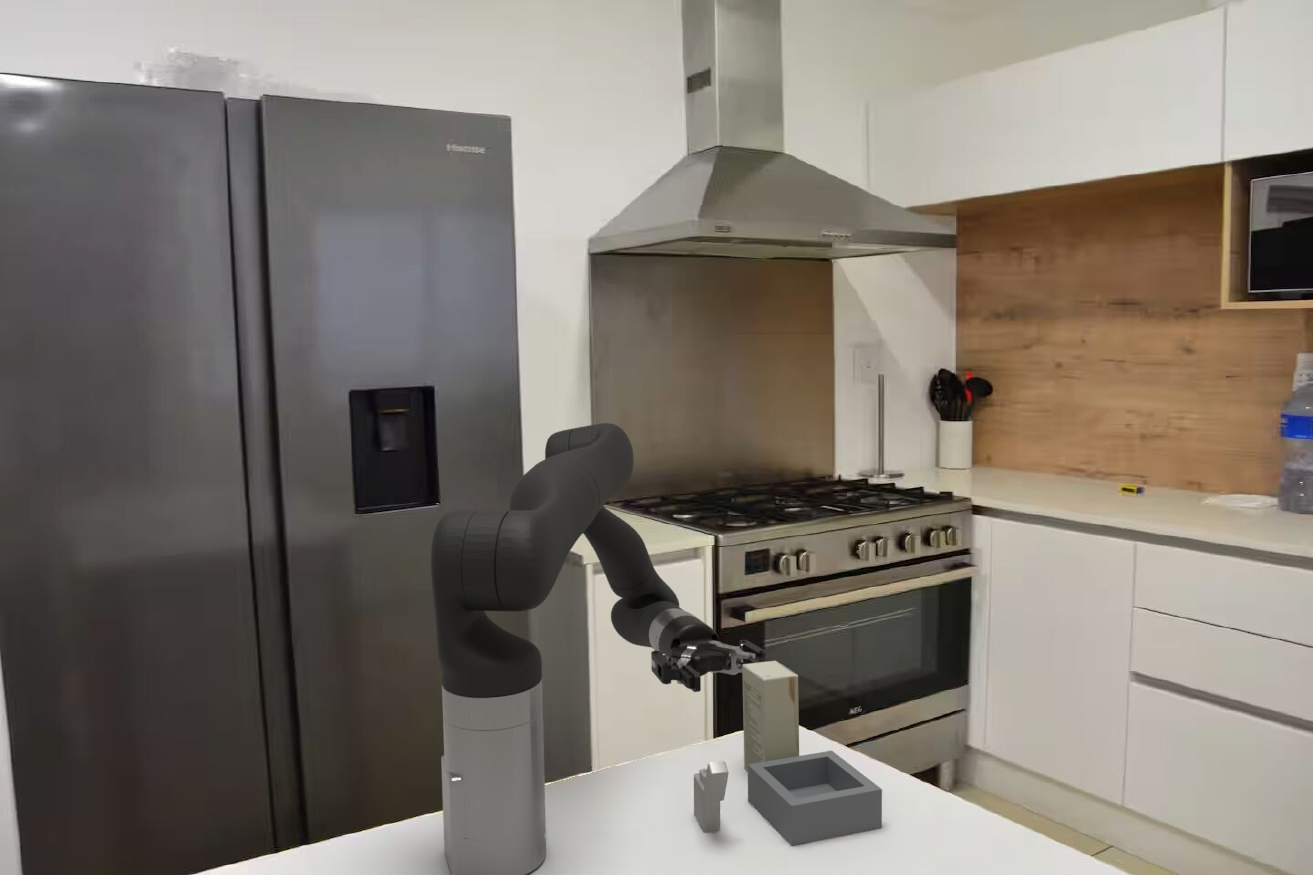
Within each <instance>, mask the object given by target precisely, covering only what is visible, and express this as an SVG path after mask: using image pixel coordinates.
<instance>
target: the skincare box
mask: <svg viewBox="0 0 1313 875" xmlns="http://www.w3.org/2000/svg"><path fill="white" fill-rule="evenodd" d="M741 665H742V671H743V673H742V709H743V711H742V714H743V721H742V723H743V767H744V769H745V770H746V771H747V772H748V764H754V763H760V762H766V761H772V760H778V759H784V758H790V757H796V756H800V724H799V723H800V721H799V719H800V715H799V711H800V710H799V709H800V708H799V675H798V674H797V673H795V672H794V671H793V670H791V669H790V668H788V667H787V666H785V665H784V664H782V663H780V662H778V661H777V660H770V661H766V662H760V663H750V664H746V663H743V664H741Z"/></svg>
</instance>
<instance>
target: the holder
mask: <svg viewBox="0 0 1313 875" xmlns="http://www.w3.org/2000/svg"><path fill="white" fill-rule="evenodd" d="M747 802H748V803H749V804H750V805H751V806H752V807H753V808H754V809H755V810H756V811H757V813H759V814H760V815H761V816H762V817H763V818H764V820H766V821H767V822H768V823H769V825H771V826H772V827H773V829H775V830H776V832H777V833H779V835H781V837H782V838H783V839H784V840H785V841H786V842H787V843H788V844H789V845H790V846H791V847H792V846H797V845H802V844H807V843H808V844H809V843H812V842H813V843H814V842H818V841H823V840H827V839H833V838H837V837H842V836H848V835H854V834H857V833H858V834H859V833H863V832H867V831H871V830H872V831H873V830H877V829H882V827H883V826H882V825H883V822H882V821H883V820H882V818H883V816H882V815H883V812H882V811H883V789H882V788H881V787H880V786H878V784H876V783H874V782H873V781H872V780H871V779H869V777H867V776H865V775H864V774H863V773H861V772H860V771H859V770H858V769H857V768H855V767H854V766H853V765H851V764H850V763H848V762H847V760H844V758H842V757H841V756H839V755H838V754H837V753H836V752H835V751H834V750H828V751H822V752H821V751H820V752H816V753H810V754H809V753H808V754H804V755H803V754H801V755H799V756H796V757H790V758H784V759H778V760H772V761H766V762H760V763H754V764H748V771H747Z"/></svg>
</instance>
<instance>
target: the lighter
mask: <svg viewBox="0 0 1313 875" xmlns="http://www.w3.org/2000/svg"><path fill="white" fill-rule="evenodd" d="M728 779H729V769H728V766H727V763H726V761H725V760H722V761H721V760H720V761H712V762H710V761H709V763H707V768H702V769H699V772H698V773H694V774H693V816H694V817H695V820H696V821H697V823H698V825H699V827H700V829H701V830H702V832H703V834H706V833H707V834H708V833H717V832H720V831H721V802H722V801H725V797H726V790H727V785H728Z"/></svg>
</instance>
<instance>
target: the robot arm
mask: <svg viewBox="0 0 1313 875" xmlns="http://www.w3.org/2000/svg"><path fill="white" fill-rule="evenodd" d="M546 440H547V441H546V443H545V449H544V450H545V451H544V459H543V460H541V461H539V462H538V463H536V464H535V465H533V466H532V467H531V468H530V469H529V470H528V471H527V472H525V473H524V474H523V475H522V476H521V478H520V479H519V480H518V481H517V483H516V484H515V485H514V487H513V490H512V491H511V495H510V498H509V509H454V510H450V511H448V512H446V513H445V514H444V515H442V516H441V518H440V520H439V521H438V522H437V524H436V526H435V529H434V532H433V536H432V541H431V548H430V549H431V550H430V575H431V588H432V590H431V591H432V599H433V608H434V618H435V630H436V631H435V633H436V649H437V651H436V652H437V658H438V662H439V666H440V671H441V672H440V673H441V674H440V675H441V696H442V697H441V698H442V699H441V700H442V721H443V722H442V726H443V727H442V728H443V731H442V732H443V753H444V754H443V755H441V760H440V761H441V786H442V787H441V788H442V789H441V791H442V819H443V845H444V846H443V847H444V848H443V850H444V854H445V857H446V861H447V865H448V869H449V874H450V875H527V874H529V873H532V872H533V871H534V870H537V868H538V867H540V865H542V864H543V862H544V860H545V859H546V856H547V827H546V826H547V824H546V823H547V821H546V820H547V819H546V817H547V816H546V788H545V787H546V786H545V785H546V784H545V780H546V779H545V778H546V777H545V752H544V751H545V750H544V749H545V748H544V747H545V745H544V743H545V742H544V712H543V711H544V709H543V708H544V707H543V661H542V655H541V652H540V650H539V648H538V647H537V646H536V645H535V644H534V643H533V642H531V641H530V640H527V639H525V638H523V637H521V636H519V635H516V634H513V633H511V632H509V631H507V630H505V629H503V627H500V626H499V625H498V624H496V623H495V621H493V620H492V619H491V618H490V617H489V616H488V615H487V613H486V612H512V613H513V612H525V611H526V612H527V611H529V610H530V611H531V610H534V609H535V608H538V607H539V606H540V605H541V604H543V603H544V602H545V600H546V599H547V598H548V597H549V595H550V593H551V591H552V589H553V588H554V585H555V584H556V582H557V579H558V577H559V575H560V572H561V570H562V567H563V566H564V563H565V561H566V559H567V557H568V555H569V554H570V552H571V550H572V548H573V547H574V546H575V544H576V542H577V541H578V540H579V538H580V537H581V536H582V535H584V537H585V538H586V540H587V541H588V542H589V544H590V545H591V547H592V548H593V551H594V552H595V554H596V556H597V558H598V560H599V563H600V566H601V568H602V571H603V574H604V575H605V577H606V580H607V582H608V585H609V587H610V589H611V591H612V592H613V593H614V594H615V595H616V596H617V597H619V598H620V599H618V600H617V601H616V602H615V603H614V604H613V606H612V608H611V611H610V622H611V624H612V627H613V629H614V630H615V632H616V633H617V634H618V635H619V636H620V637H621V638H622V639H624V640H625V641H626V642H628V643H630V644H632V645H635V646H639V647H644V648H646V647H647V648H651V649H653V650H652V651H651V654H650V657H651V661H650V662H651V663H650V665H651V667H650V668H651V672H652V673H653V674H654V676H656V678H657V679H658V681H659V682H661V684H663V685H670V684H672V681H676V684H679V685H683V686H684V687H685V688H687V689H688V690H691V691H692V692H694V693H697V692H698V693H699V692H701V689H702V688H701V684H702V681H701V680H702V679H701V677H702V676H704V675H706V674H708V673H711V674H712V673H713V674H716V673H721V674H727V675H731V676H735V675H737V674H738V673H739V674H740V673H741V674H743V671H742V665H743V664H742V663H744V664H750V663H760V662H767V660H766V659H767V650H765V649H762V648H761V647H760V646H758V645H756V644H755V643H752V642H751V641H749V640H747V639H742V640H740V639H739V645H738V646H735V645H729V644H728V643H723V642H722V641H721V640H720V638H719V635H718V634H717V632H716V631H715V630H714V629H713V628H712V627H711V626H709V625H708V624H706V623H705V622H704V621H702V619H700V618H698V617H697V616H695V615H694V614H692V613H690V612H688V611H686V610H684V609H683V608H681V607H680V602H679V598H678V596H677V594H676V592H674V590H673V589H672V588H671V587H670V585H668V584H667V583H666V582H665V580H663V579H662V578H661V576H660V575H659V574H658V573H657V571H656V568H655V567H654V565H653V562H652V560H651V557H650V555H649V551H648V549H647V547H646V544H645V542H644V540H643V538H642V537H641V535H640V534H639V533H638V531H637V530H636V529H635V528H634V527H632V526H631V525H630V524H629V523H628V522H626V521H625V520H624V519H623V518H621V517H619V516H617V515H616V514H615V513H613V512H612V511H611V510H609V509H608V508H607V507H605V505H606V503H608V501H609V500H610V499H611V498H612V497H614V496H615V495H617V494H618V493H620V492H621V491H622V490H623V489H625V488H626V487H627V485H629V483H630V481H631V478H632V474H633V470H634V463H635V462H634V461H635V460H634V449H633V446H632V442H631V440H630V438H629V436H628V435H627V433H626V432H625V431H624V429H623V428H622V427H620V426H619V425H617V424H616V423H610V422H604V423H603V422H601V423H597V424H590V425H585V426H578V427H575V428H569V429H564V430H559V431H557V432H553V433H552V434H551V435H550V436H549V437H548V438H547V439H546ZM729 663H730V666H728V665H729Z"/></svg>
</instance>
